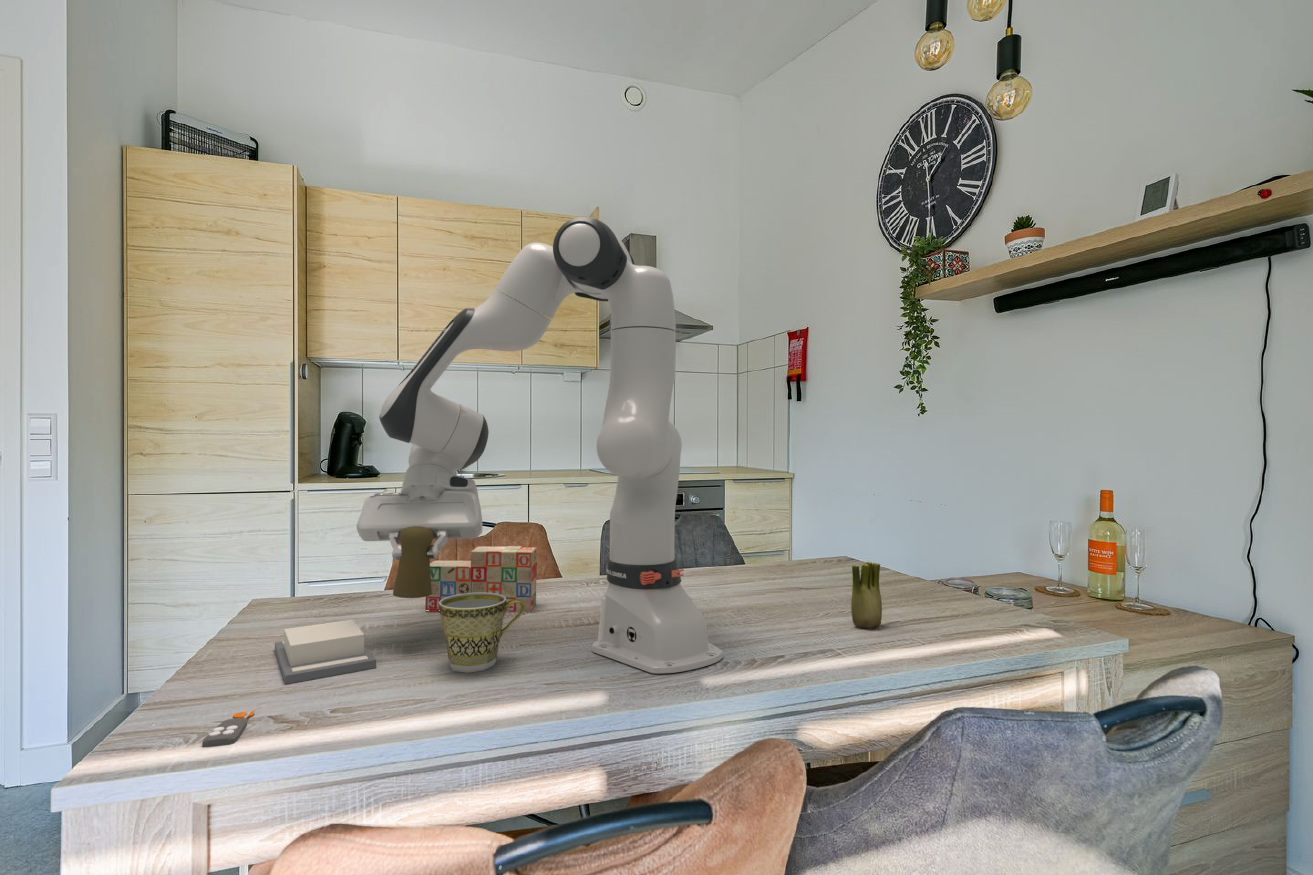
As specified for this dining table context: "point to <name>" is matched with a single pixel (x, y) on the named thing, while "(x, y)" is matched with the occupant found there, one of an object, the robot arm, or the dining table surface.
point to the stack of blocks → (488, 576)
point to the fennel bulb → (866, 596)
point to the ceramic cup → (474, 628)
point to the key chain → (228, 730)
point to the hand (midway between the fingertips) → (414, 557)
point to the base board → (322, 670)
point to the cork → (414, 563)
